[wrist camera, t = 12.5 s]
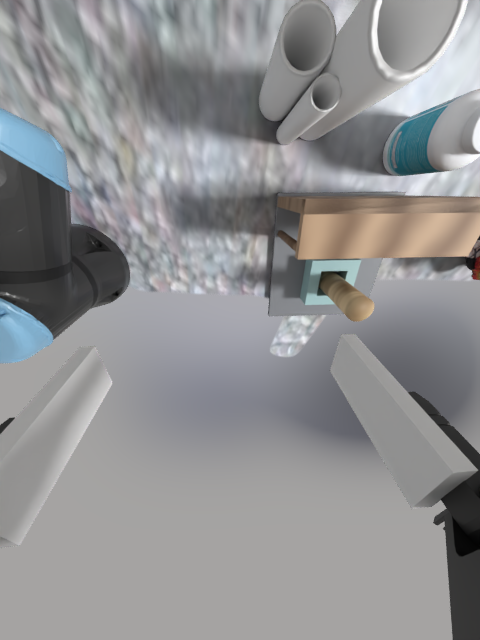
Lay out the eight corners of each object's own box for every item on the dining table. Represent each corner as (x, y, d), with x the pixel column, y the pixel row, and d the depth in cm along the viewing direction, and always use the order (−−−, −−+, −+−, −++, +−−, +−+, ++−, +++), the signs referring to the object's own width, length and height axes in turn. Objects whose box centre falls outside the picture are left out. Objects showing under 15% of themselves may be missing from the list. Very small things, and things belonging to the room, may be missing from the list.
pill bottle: (392, 187, 36) (467, 184, 25) (372, 148, 33) (447, 125, 22) (436, 147, 34) (544, 124, 22) (418, 102, 31) (532, 48, 19)
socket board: (268, 314, 48) (271, 324, 45) (277, 193, 36) (282, 193, 32) (361, 311, 49) (372, 321, 45) (401, 192, 37) (421, 192, 33)
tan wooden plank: (274, 236, 40) (297, 259, 26) (276, 196, 36) (305, 199, 23) (387, 234, 40) (467, 256, 27) (400, 195, 37) (500, 197, 23)
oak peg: (313, 286, 44) (344, 321, 32) (316, 268, 42) (351, 298, 30) (331, 286, 44) (369, 321, 32) (336, 268, 42) (378, 297, 30)
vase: (340, 77, 29) (497, -85, 12) (329, 144, 33) (437, 93, 16) (259, 77, 29) (303, -90, 12) (257, 145, 32) (288, 93, 15)
